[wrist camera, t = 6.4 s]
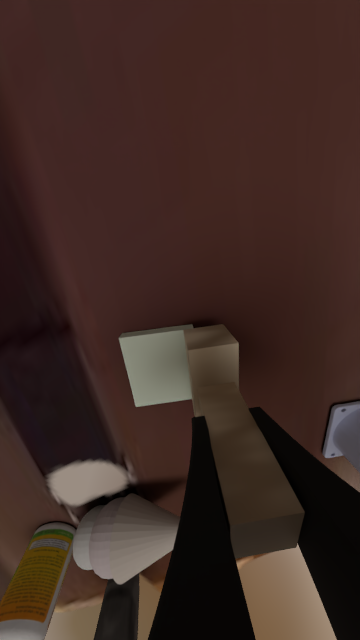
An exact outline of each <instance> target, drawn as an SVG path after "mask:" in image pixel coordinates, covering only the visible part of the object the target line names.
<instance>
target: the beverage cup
mask: <svg viewBox="0 0 360 640" xmlns="http://www.w3.org/2000/svg"><path fill="white" fill-rule="evenodd" d="M138 608H139V573H138V574H136V575H135V576H133V577H132V578H130V579H129V580H128V581H126V582H125V583H123V584H117V583H116V582H115V581H114V579H108V583H107V587H106V590H105V594H104V598H103V603H102V607H101V612H100V615H99V620H98V624H97V628H96V632H95V637H94V640H137V634H138V633H137V631H138Z"/></svg>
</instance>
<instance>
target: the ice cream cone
mask: <svg viewBox="0 0 360 640" xmlns="http://www.w3.org/2000/svg"><path fill="white" fill-rule="evenodd" d="M179 521H180V517H179V516H177V515H175V514H173V513H171V512H169V511H167V510H165V509H163V508H161V507H159V506H157V505H156V504H154V503H152V502H150V501H148V500H146V499H144V498H142V497H140V496H138V495H136V494H134V493H130V494H128V495H127V496H126V497H120V498H116V499H114V500H112V501H111V502H109V503H108V504H107V505H100V506H97V507H94V508H93V509H91V510H90V511H89V512H88V513H87V514H86V515H85V516H84V517H83V519H82V520H81V522H80V524H79V526H78V528H77V530H76V533H75V536H74V541H73V556H74V560H75V562H76V563H77V565H78V566H79V567H80V568H82V569H85V570H91V569H93V570H94V572H95V573H96V574H97V575H98V576H100V577H101V578H104V579H114V581H115V582H116V583H117V584H123V583H125V582H126V581H128V580H129V579H130V578H132V577H133V576H135V575H136V574H138V573H139V572H141V571H142V570H144V569H145V568H147V567H148V566H149V565H151V564H152V563H154V562H155V561H157V560H158V559H160V558H161V557H163V556H164V555H166V554H167V553H168V552H170V551H171V550H173V547H174V542H175V538H176V534H177V530H178V525H179Z"/></svg>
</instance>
